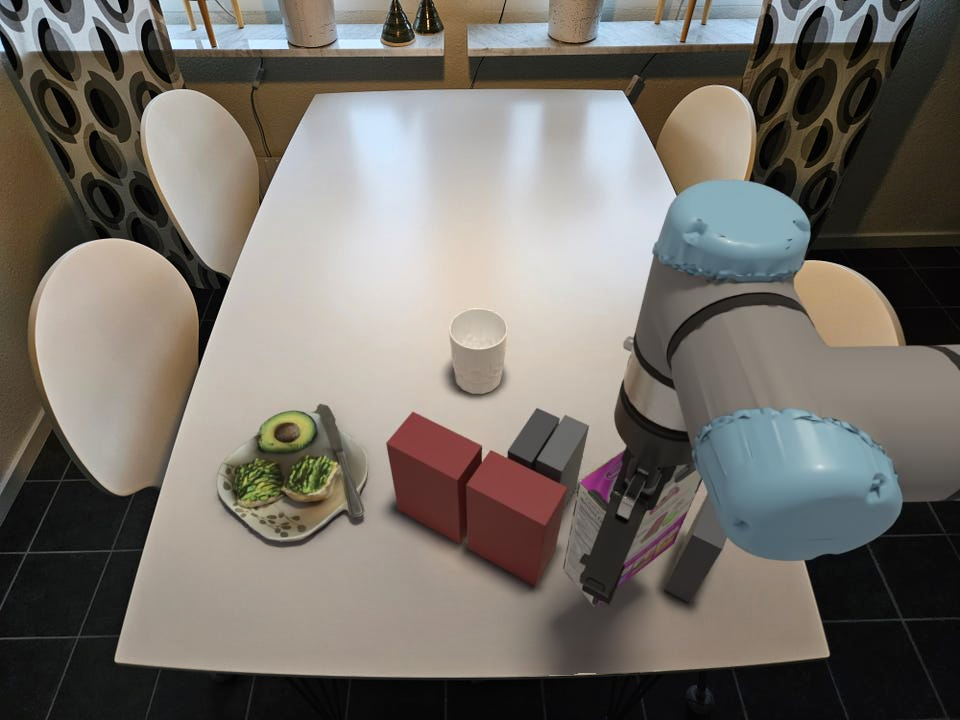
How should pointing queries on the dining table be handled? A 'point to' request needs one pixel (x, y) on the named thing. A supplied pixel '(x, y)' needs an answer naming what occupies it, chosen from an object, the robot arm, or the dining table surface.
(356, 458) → the avocado toast plate
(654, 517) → the candy bar box
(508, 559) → the maroon boxes
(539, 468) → the grey boxes
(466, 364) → the white cup
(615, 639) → the dining table surface
